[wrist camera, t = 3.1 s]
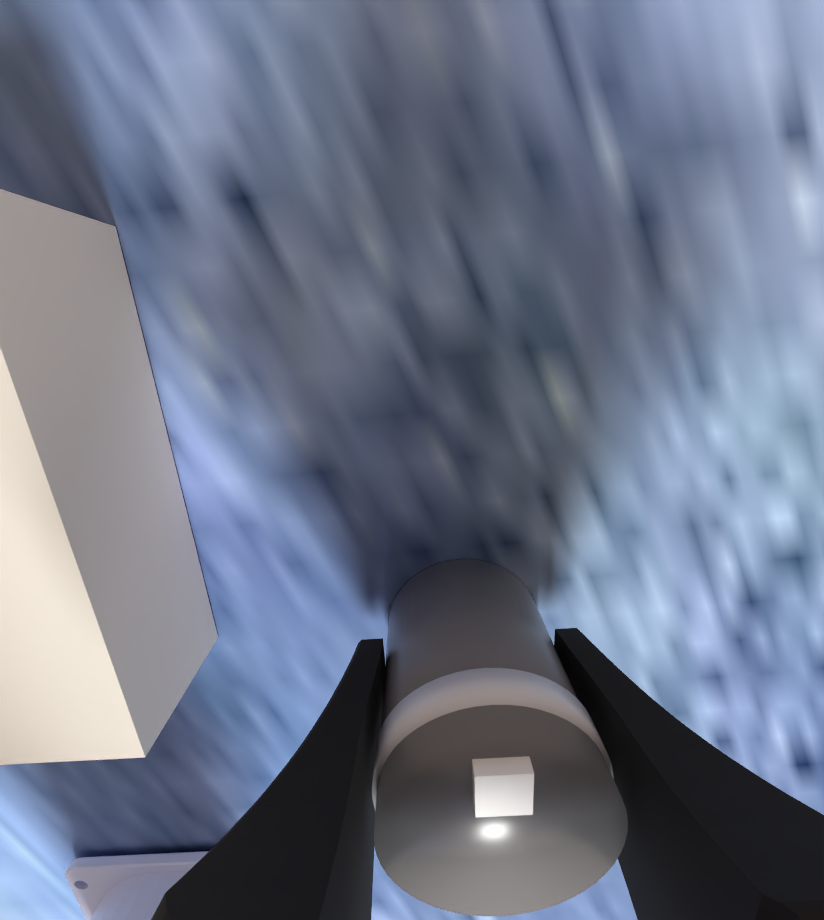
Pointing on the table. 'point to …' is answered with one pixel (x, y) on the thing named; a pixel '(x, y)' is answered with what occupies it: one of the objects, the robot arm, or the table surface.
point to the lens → (487, 752)
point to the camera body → (86, 505)
